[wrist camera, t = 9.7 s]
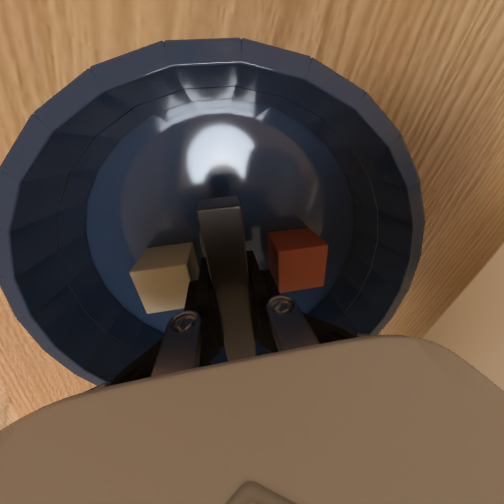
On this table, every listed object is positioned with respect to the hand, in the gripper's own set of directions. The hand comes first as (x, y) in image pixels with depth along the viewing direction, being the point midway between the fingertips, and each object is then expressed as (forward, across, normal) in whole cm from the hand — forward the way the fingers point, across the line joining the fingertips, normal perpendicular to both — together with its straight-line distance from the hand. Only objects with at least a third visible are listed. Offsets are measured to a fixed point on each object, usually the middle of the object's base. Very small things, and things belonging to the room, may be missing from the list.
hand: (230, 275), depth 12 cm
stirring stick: (-1, 0, 0) cm, 1 cm away
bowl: (+3, 0, 0) cm, 3 cm away
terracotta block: (+3, -4, 0) cm, 5 cm away
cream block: (+3, +4, 0) cm, 5 cm away
